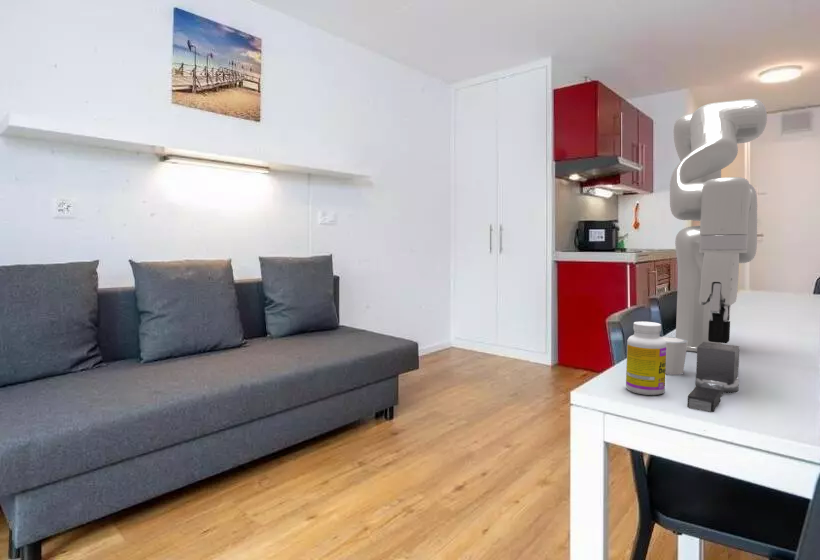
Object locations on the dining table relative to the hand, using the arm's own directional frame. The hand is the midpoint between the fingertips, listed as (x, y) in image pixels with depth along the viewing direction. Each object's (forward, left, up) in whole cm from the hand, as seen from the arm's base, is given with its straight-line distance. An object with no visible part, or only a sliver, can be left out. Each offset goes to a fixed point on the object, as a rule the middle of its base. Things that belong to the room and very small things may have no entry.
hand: (718, 341), depth 92 cm
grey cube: (0, 0, -7) cm, 7 cm away
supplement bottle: (+10, -10, -9) cm, 17 cm away
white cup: (-7, -10, -9) cm, 15 cm away
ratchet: (+6, 0, -9) cm, 11 cm away
